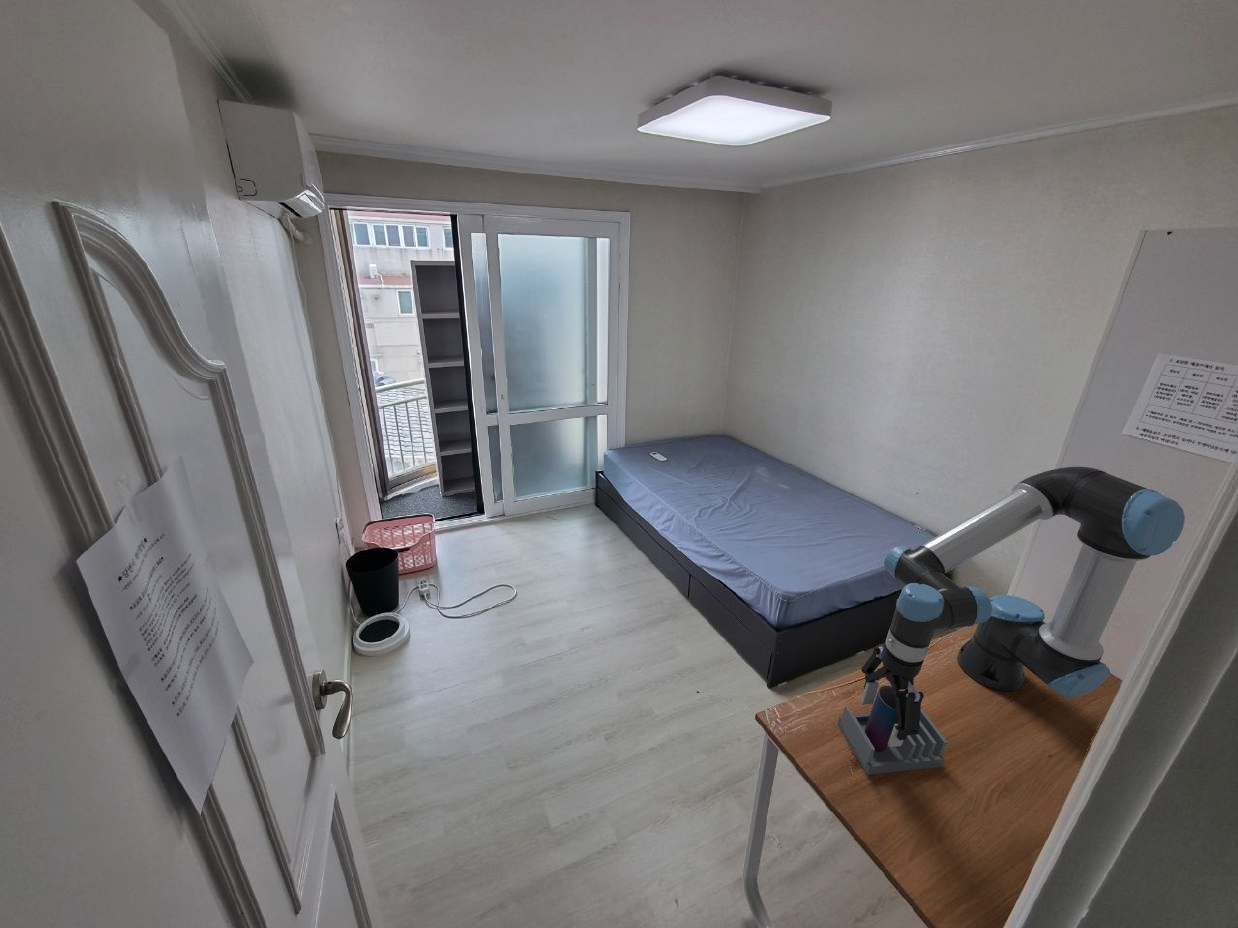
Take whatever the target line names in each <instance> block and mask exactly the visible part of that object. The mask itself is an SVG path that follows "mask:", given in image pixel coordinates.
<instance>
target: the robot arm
mask: <svg viewBox="0 0 1238 928" xmlns="http://www.w3.org/2000/svg"><path fill="white" fill-rule="evenodd" d="M1011 489H1012V490H1011V492H1009V494H1007V495H1005V496H1004V497H1002V498H1000V499H998V500H996V501H994V502H993V503H992V504H990V505H988V506H986V507H984V508H983V509H981V510H980V511H977V512H976V513H975V514H973V515H971V516H969V517H967V518H965V519H964V520H961V522H959V523H957V524H956V525H954V526H952V527H950V528H949V529H947V530H945V531H944V532H942V533H940V534H939V535H937V536H935V537H934V538H932V539H930V540H928V541H927V542H925V543H924V544H922V545H919V546H918V547H915V548H914V549H912V548H910V547H908V546H905V545H900V546H895V547H893V548H892V549H891V550H889V552H888V553H887V554H886V555H885V557H884V561H883V565H884V568H885V570H886V572H888V573H889V574H890V576H892V578H893V579H894V580H895V581H896V582H898V583H900V584H901V585H902V586H903V587H902V589H901V593H900V594H899V596H898V598H897V599H896V604H895V605H896V606H895V609H894V612H893V616H892V619H891V624H890V626H889V628H888V629H889V630H888V633H887V636H886V638H885V642H884V645H883V646H876V647H875V646H874V647H873V650H872V654H871V655H870V657H869V658H868V659H867V661H866V662H865V663H864V664H863V666H861V673H863V674H864V675H865V677H864V678H865V681H864V682H865V683H864V685H863V689H864V691H863V693H862V697H861V699H860V703H861V704H862V706H864V705H874V702H875V699H876V696H877V693H878V690H879V688H880V687H879V686H880V683H879V681H880V680H881V679H883V678H885V679H886V680H887V681H888V682H889V684H890V686H892V690H893V695H895V698H896V708H897V718H898V723H896V724H895V725H894V727H893V730H892V733H891V736H890V739H889V742H888V745H889V747H896V746H901V745H902V743H903V740H906V739H907V736H908V735H918V734H919V725H920V710H921V708H922V701H923V699H924V698H925V697H924V693H923V692H922V691H918V690H917V689H916V688H915V686H914V685H915V681H914V679H915V678H916V677H917V676H918V675H919V673H920V672H921V670H922V666H923V663H924V661H925V659H926V655H927V653H928V650H929V646H930V644H931V641H932V638H933V636H934V634H935V633H936V632H940V631H941V632H942V631H946V630H952V629H959V628H960V629H961V628H965V627H973V626H975V625H976V629H975V631H974V633H973V636H972V637H971V638H970V639H968V640H967V641H966V642H965V643H964V644H963V645H962V646H961V647H960V648H959V650H958V652H957V655H956V659H957V663H958V665H959V667H960V669H962V671H963V672H964V673H965V674H966V675H968V676H969V677H970V678H971V679H973V680H974V681H976V682H978V683H979V684H981V685H983V686H985V687H988V688H990V689H994V690H995V691H996V690H997V691H1001V692H1013V691H1017V690H1019V689H1020V688H1021V687H1022V686H1023V683H1024V680H1025V679H1026V678H1025V677H1026V676H1025V675H1026V674H1025V670H1024V669H1025V668H1026V669H1027V670H1029V671H1030V672H1031V673H1032V674H1033V675H1035V676H1036V677H1037V678H1038V679H1039V680H1041V681H1042V682H1043V683H1044V684H1045V685H1046V686H1047V687H1048V688H1051V689H1052V690H1053V691H1055V692H1056V693H1058V694H1059V695H1061V696H1062V697H1064V698H1070V699H1074V698H1078V697H1081V696H1084V695H1086V694H1088V693H1090V692H1092V691H1094V690H1095V689H1097V688H1098V687H1100V686H1101V685H1102V684H1103V683H1105V681H1107V679H1108V678H1109V677H1110V674H1111V669H1110V668H1109V667H1108V666H1107V664H1106V663H1104V662H1101V660H1102V658H1103V655H1104V653H1105V652H1104V647H1103V645H1102V643H1101V642H1100V639H1101V638H1102V636H1103V634H1104V632H1105V629H1106V627H1107V625H1108V622H1109V620H1110V619H1111V616H1112V614H1113V612H1114V610H1115V608H1116V606H1117V604H1118V601H1119V599H1120V597H1121V595H1122V593H1123V591H1124V589H1125V586H1126V585H1127V582H1128V580H1129V579H1130V577H1131V574H1132V573H1133V570H1134V567H1135V565H1136V564H1137V561H1138V562H1139V561H1144V560H1147V559H1150V558H1151V557H1152V556H1157V555H1158V556H1159V555H1160V554H1162V553H1165V552H1166V551H1167V550H1169V549H1170V548H1171V547H1172V546H1173V542H1177V541H1178V539H1179V538H1180V536H1181V534H1182V531H1183V530H1184V525H1185V517H1186V516H1185V512H1184V509H1183V508H1182V506H1181V505H1180V503H1178V502H1177V501H1176V500H1174V499H1172V498H1170V497H1169V496H1165V495H1163V494H1161V492H1159V491H1157V490H1155V489H1151V488H1147V487H1144V486H1141V485H1139V484H1136V483H1133V482H1130V481H1128V480H1126V479H1123V478H1121V477H1118V476H1115V475H1112V474H1110V473H1107V472H1106V471H1104V470H1101V469H1098V468H1094V467H1091V466H1067V467H1064V466H1063V467H1060V468H1059V467H1058V468H1055V469H1049V470H1046V471H1042V472H1040V473H1037V474H1034V475H1031V476H1029V477H1027V478H1025V479H1023V480H1021V481H1019V482H1018V483H1017V484H1014V485H1013V486H1012V488H1011ZM1060 515H1061V516H1066V517H1068V518H1069V519H1072V520H1074V521H1076V522H1077V523H1079V524H1080V525H1079V528H1078V531H1077V534H1076V537H1077V539H1078V541H1079V542H1080V543H1081V544H1082V545H1081V548H1080V550H1079V553H1078V555H1077V557H1076V560H1075V563H1074V565H1073V567H1072V570H1071V572H1070V575H1069V578H1068V580H1067V583H1066V585H1065V587H1064V590H1063V592H1062V595H1061V597H1060V598H1059V599H1060V600H1059V602H1058V605H1057V607H1056V609H1055V612H1054V614H1053V616H1052V619H1051V621H1049V622H1045V621H1044V620H1045V616H1046V615H1045V612H1044V609H1042V608H1041V607H1040V606H1039V605H1038V604H1036V603H1034V602H1032V601H1030V600H1028V599H1025V598H1021V597H1018V596H1015V595H1014V596H1013V595H1009V594H1007V595H1006V594H997V595H993V596H992V597H991V598H989V596H988V595H987V593H985V591H983V590H982V589H980V588H978V587H975V586H962V587H961V586H960V585H958V584H957V583H956V582H954V581H953V580H951V579H950V578H949V577H948V576H946V575H945V574H946V573H948V572H950V571H951V570H953V569H954V568H956V567H958V566H960V565H962V564H963V563H966V562H967V561H968V560H971V559H972V558H974V557H975V556H977V555H979V554H980V553H982V552H984V551H987V549H990V548H991V547H993V546H995V545H996V544H998V543H1000V542H1002V541H1003V540H1005V539H1007V538H1008V537H1010V536H1012V535H1014V534H1016V533H1017V532H1018V531H1019V532H1020V531H1021V530H1022V529H1023V528H1026V527H1027V526H1029V525H1031V524H1033V523H1034V522H1036V521H1038V520H1042V521H1047V520H1049V519H1052V518H1053V517H1055V516H1060ZM881 663H882V665H883V666H881V667H880V665H881ZM878 667H880V668H878ZM898 690H901V691H898Z"/></svg>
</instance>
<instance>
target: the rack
mask: <svg viewBox="0 0 1238 928" xmlns="http://www.w3.org/2000/svg"><path fill="white" fill-rule="evenodd" d="M870 713H871V712H868V713H867V712H866V713H858V714H857V713H856V714H854V712H853V711H852V709H851V708H850V706H849V705H845V706H844V709H843V713H842V715H839V716H838V719H837V720H838V721H837V725H838V728H839V729H840V731H841V732H842V734H843V736H844V737H845V740H846V741H847V743H848V744H849V746H850V748H851V750H852V751H853V753H854V755H855V757H856V759H857V760H858V762H859V764H860V766H861V768H862V769H863V771H864V773H865V775H868V776H869V775H879V774H889V773H896V772H907V771H915V770H926V769H936V768H942V767H943V764H944V761H945V758H944V756H943V753H944V752H945V749H946V747H947V744H948V741H947V740H946V738H945V737H944V736H943V734H942V733H941V731H940V730H939V729H938V728H937V726H936V725H935V724H934V723H933V720H931V719H930V717H929V716H928V715H927V714H926V712H925V710H924V709H923V708H922V707H921V710H920V725H919V734H918V735H908V736H907V739H906V740H903V743H902V745H901V746H896V747H889V745H887V747H886V749H885V750H884V751H882V752H876V751H875V748H874V747H873V745H872V743H871V742H870V740H869V739H868V737H867V735H866V734H865V732H864V731H865V728H866V725H867V722H868V719H869V716H870Z"/></svg>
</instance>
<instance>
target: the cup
mask: <svg viewBox="0 0 1238 928" xmlns="http://www.w3.org/2000/svg"><path fill="white" fill-rule="evenodd" d="M898 691H902V690H898ZM869 713H870V716H869V719H868V722H867V725H866V728H865V731H864V732H865V734H866V735H867V737H868V739H869V740H870V742H871V743H872V745H873V747H874V748H875V751H876V752H882V751H884V750H885V749H886V747H887V745H888V742H889V739H890V736H891V733H892V730H893V727H894V725H895V724H896V723H898V718H897V708H896V698H895V695H893V690H892V686H891V685H883V686H882V685H881V687H878V690H877V693H876V696H875V699H874V702H873V704H872V708H871V711H870V712H869Z"/></svg>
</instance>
